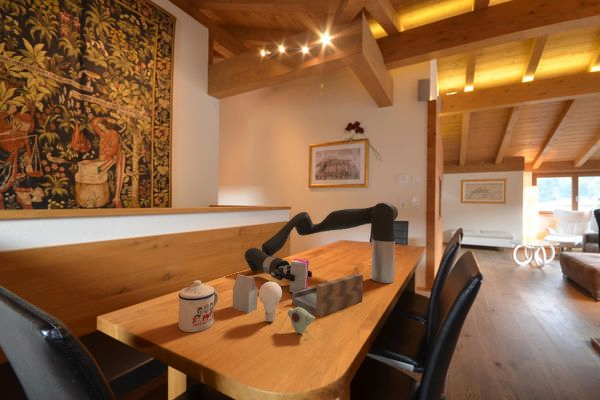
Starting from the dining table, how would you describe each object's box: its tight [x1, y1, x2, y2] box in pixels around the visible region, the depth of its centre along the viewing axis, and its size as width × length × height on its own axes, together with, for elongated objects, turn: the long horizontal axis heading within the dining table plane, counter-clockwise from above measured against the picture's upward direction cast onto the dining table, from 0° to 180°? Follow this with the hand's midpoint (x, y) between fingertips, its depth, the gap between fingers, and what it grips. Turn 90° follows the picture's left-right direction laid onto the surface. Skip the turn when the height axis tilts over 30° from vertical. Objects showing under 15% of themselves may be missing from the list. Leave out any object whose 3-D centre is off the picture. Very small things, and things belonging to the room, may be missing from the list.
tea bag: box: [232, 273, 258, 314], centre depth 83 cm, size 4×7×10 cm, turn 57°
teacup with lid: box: [177, 279, 219, 333], centre depth 73 cm, size 12×9×12 cm
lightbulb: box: [258, 281, 283, 323], centre depth 75 cm, size 6×6×11 cm
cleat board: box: [291, 273, 364, 318], centre depth 90 cm, size 20×13×9 cm, turn 131°
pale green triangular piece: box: [287, 306, 316, 334], centre depth 69 cm, size 8×4×7 cm, turn 56°
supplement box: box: [289, 258, 310, 295], centre depth 99 cm, size 6×6×12 cm
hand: (302, 276), depth 98 cm, fingers closed on supplement box, 8 cm apart
